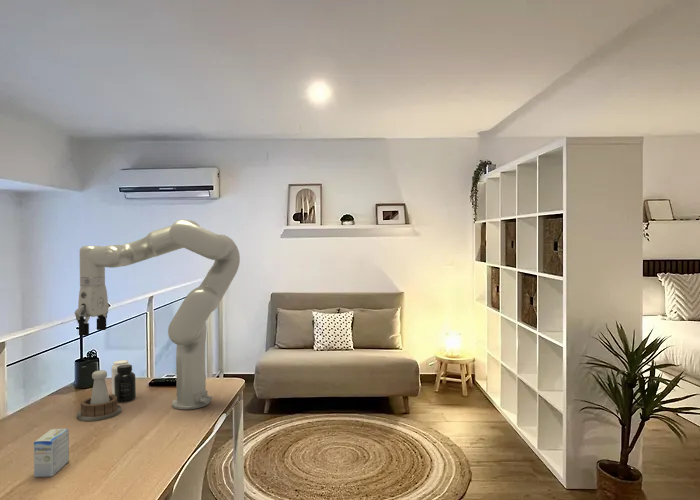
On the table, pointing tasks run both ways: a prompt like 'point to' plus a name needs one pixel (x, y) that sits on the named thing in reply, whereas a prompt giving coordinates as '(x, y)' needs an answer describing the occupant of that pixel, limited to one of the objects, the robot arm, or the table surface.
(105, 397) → the salt shaker
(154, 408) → the table surface
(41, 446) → the medicine box
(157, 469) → the table surface
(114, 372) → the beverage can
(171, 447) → the table surface
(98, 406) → the walnut sleeve
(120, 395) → the supplement bottle
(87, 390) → the table surface
